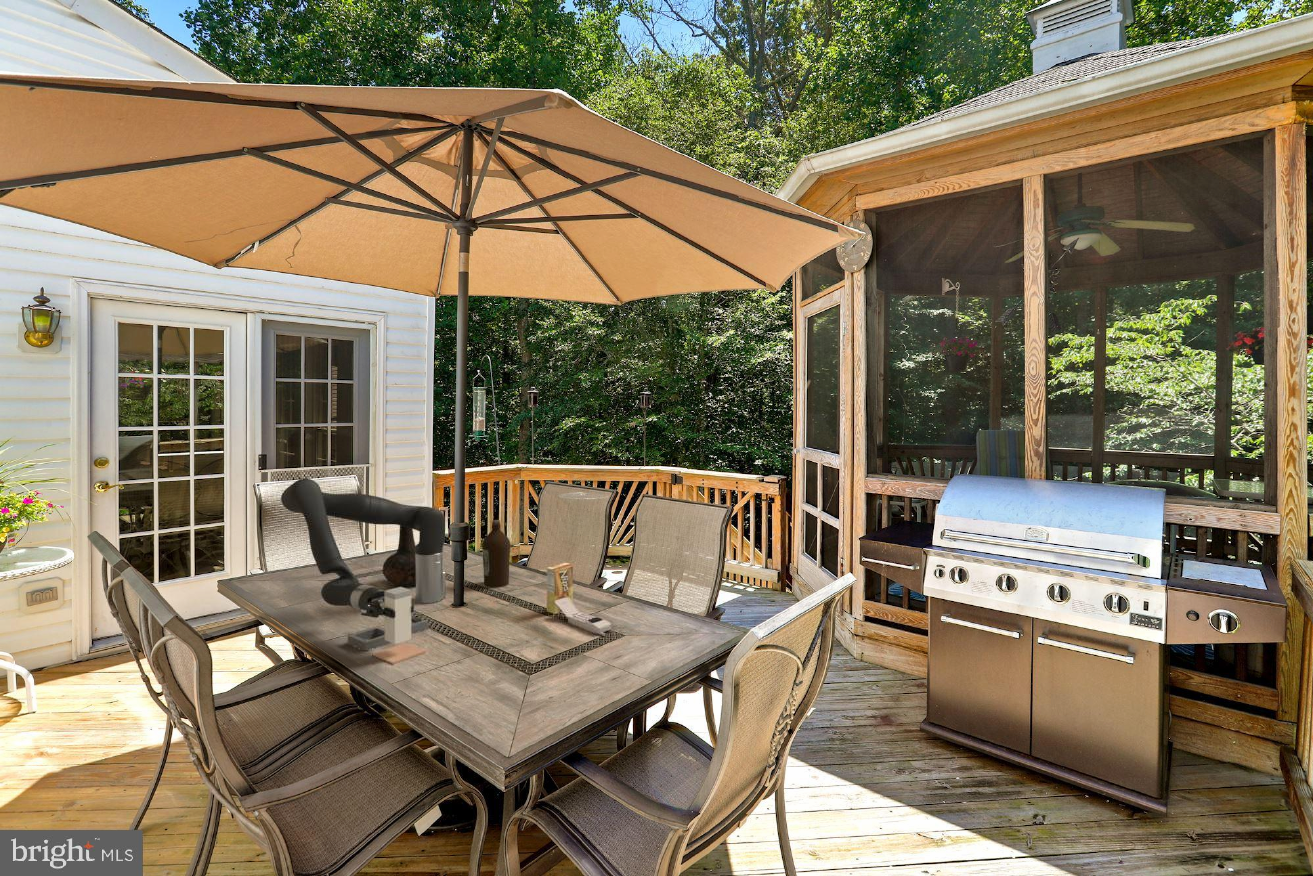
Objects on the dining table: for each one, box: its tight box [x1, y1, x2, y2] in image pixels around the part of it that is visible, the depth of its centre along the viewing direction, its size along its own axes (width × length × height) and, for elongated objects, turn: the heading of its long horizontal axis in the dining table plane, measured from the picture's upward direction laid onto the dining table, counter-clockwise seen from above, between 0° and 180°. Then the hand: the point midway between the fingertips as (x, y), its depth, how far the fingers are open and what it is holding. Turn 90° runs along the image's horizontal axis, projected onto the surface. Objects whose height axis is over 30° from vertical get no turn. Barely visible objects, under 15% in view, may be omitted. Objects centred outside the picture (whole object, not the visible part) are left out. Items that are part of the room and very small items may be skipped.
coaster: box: [372, 642, 427, 665], centre depth 175 cm, size 10×10×1 cm
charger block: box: [384, 586, 412, 645], centre depth 174 cm, size 5×5×14 cm
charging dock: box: [347, 616, 429, 652], centre depth 188 cm, size 21×9×3 cm, turn 145°
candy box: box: [546, 562, 574, 615], centre depth 213 cm, size 9×4×15 cm, turn 145°
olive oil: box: [481, 519, 511, 588], centre depth 242 cm, size 11×11×25 cm
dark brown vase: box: [382, 525, 417, 587], centre depth 242 cm, size 18×18×28 cm
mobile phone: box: [555, 597, 612, 637], centre depth 199 cm, size 6×6×25 cm
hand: (403, 611), depth 173 cm, fingers closed on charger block, 5 cm apart
